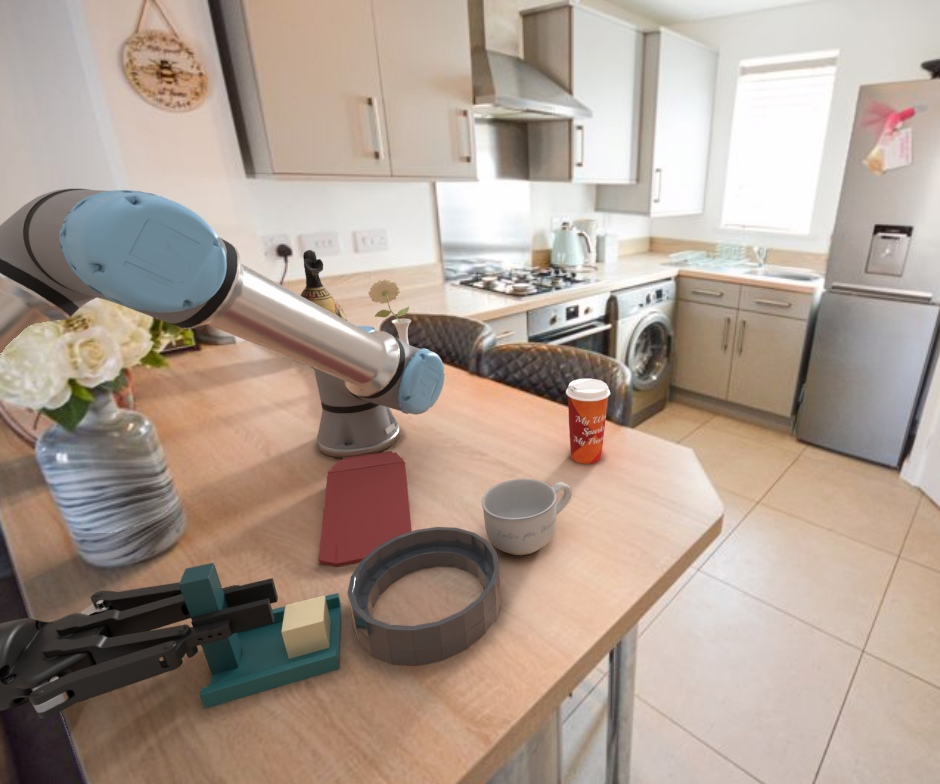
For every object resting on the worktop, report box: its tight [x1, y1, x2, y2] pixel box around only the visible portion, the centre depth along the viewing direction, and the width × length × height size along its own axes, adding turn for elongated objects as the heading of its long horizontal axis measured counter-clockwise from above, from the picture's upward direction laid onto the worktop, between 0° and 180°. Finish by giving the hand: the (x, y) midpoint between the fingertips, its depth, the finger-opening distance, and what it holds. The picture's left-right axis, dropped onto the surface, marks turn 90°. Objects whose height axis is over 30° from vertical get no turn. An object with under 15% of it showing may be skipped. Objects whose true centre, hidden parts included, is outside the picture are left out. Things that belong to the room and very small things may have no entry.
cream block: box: [281, 594, 331, 659], centre depth 57 cm, size 4×4×4 cm
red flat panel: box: [318, 450, 412, 567], centre depth 81 cm, size 12×5×25 cm
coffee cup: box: [565, 378, 611, 465], centre depth 97 cm, size 8×8×15 cm
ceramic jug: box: [299, 249, 348, 321], centre depth 148 cm, size 17×15×30 cm
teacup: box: [481, 478, 573, 556], centre depth 75 cm, size 14×11×8 cm
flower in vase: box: [368, 279, 412, 345], centre depth 138 cm, size 13×11×25 cm
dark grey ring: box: [347, 526, 502, 667], centre depth 63 cm, size 17×17×6 cm
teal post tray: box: [179, 562, 342, 710], centre depth 54 cm, size 12×10×13 cm
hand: (272, 600), depth 54 cm, fingers closed on teal post tray, 2 cm apart
